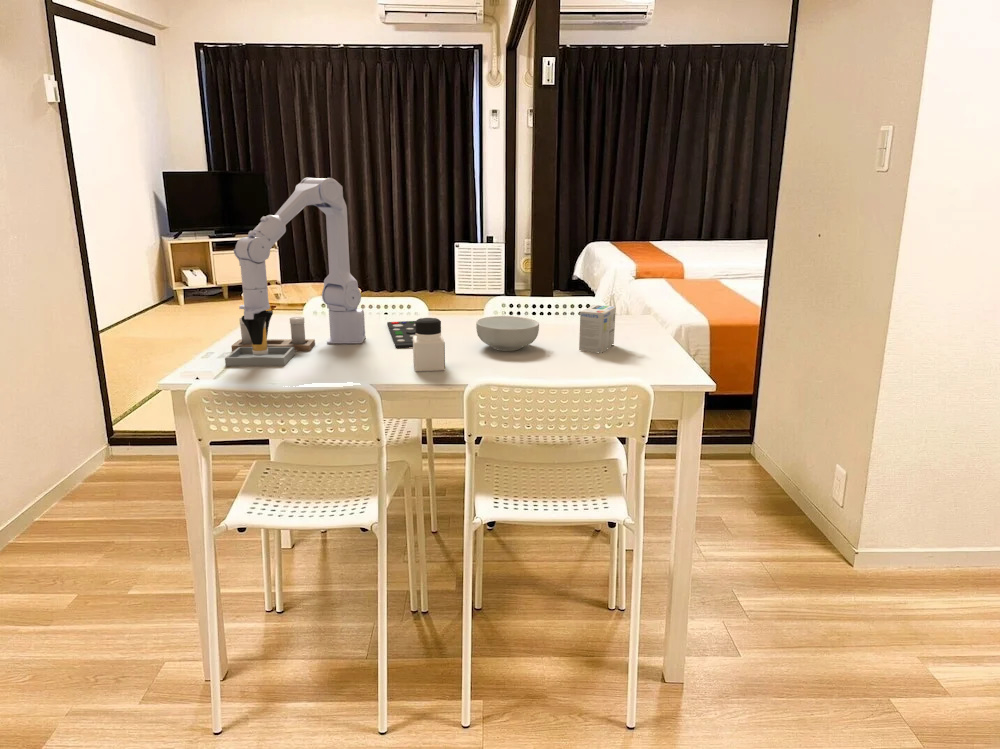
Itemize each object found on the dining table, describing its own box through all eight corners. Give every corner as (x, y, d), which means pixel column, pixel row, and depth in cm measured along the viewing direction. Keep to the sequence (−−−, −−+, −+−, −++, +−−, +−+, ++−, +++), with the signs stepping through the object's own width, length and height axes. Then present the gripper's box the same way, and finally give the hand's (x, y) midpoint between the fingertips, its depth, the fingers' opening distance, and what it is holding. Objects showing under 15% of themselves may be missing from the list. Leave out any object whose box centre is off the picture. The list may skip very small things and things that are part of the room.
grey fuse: (307, 346, 194) (305, 316, 192) (304, 349, 190) (302, 319, 188) (293, 346, 194) (291, 316, 191) (290, 349, 190) (288, 319, 188)
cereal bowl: (509, 358, 183) (509, 331, 181) (463, 347, 194) (463, 321, 192) (551, 347, 195) (552, 321, 193) (505, 337, 206) (505, 313, 204)
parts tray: (294, 354, 185) (294, 346, 185) (284, 365, 175) (283, 357, 174) (239, 354, 185) (238, 346, 184) (225, 365, 174) (224, 357, 174)
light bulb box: (591, 342, 200) (593, 304, 197) (614, 345, 198) (616, 306, 195) (578, 351, 191) (579, 310, 188) (602, 353, 188) (604, 313, 185)
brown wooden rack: (315, 344, 195) (314, 339, 195) (309, 351, 189) (309, 345, 188) (240, 344, 195) (239, 339, 194) (231, 351, 188) (231, 345, 187)
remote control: (423, 325, 223) (423, 318, 222) (437, 348, 195) (437, 341, 194) (387, 326, 221) (387, 320, 220) (395, 350, 192) (395, 343, 192)
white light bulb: (258, 346, 193) (255, 317, 191) (254, 349, 190) (251, 319, 187) (244, 346, 193) (241, 317, 191) (240, 349, 190) (237, 319, 187)
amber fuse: (270, 351, 181) (267, 320, 179) (266, 355, 177) (263, 323, 175) (255, 352, 181) (252, 320, 179) (250, 355, 177) (247, 323, 175)
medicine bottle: (445, 370, 171) (444, 321, 168) (414, 372, 170) (413, 322, 167) (442, 363, 178) (441, 315, 175) (413, 364, 177) (412, 316, 174)
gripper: (247, 283, 181) (251, 335, 185) (228, 292, 168) (234, 349, 171) (275, 283, 182) (279, 335, 185) (259, 292, 168) (264, 349, 172)
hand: (259, 342), depth 178 cm, fingers closed on amber fuse, 3 cm apart
